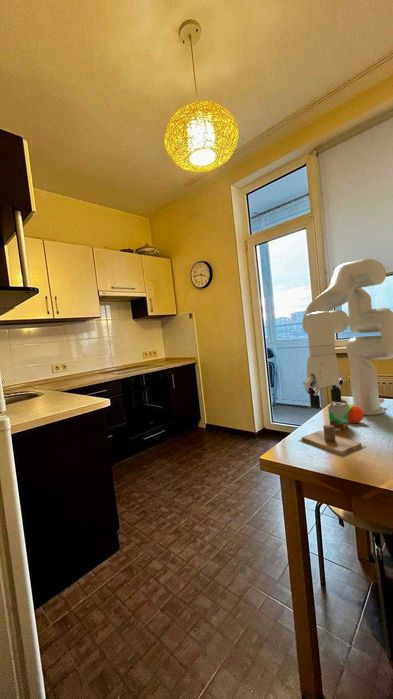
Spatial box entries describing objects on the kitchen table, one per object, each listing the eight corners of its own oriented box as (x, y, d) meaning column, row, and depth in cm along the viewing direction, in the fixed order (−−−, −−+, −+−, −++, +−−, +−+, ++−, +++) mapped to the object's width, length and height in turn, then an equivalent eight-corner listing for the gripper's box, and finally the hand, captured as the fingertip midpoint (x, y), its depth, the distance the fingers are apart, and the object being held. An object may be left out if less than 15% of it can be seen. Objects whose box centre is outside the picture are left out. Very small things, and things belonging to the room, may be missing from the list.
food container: (349, 436, 99) (347, 407, 99) (330, 434, 102) (328, 406, 102) (352, 424, 110) (350, 398, 109) (334, 422, 113) (332, 397, 112)
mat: (320, 434, 103) (320, 432, 103) (366, 449, 88) (366, 446, 88) (297, 442, 98) (297, 440, 98) (343, 460, 83) (342, 457, 83)
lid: (320, 433, 102) (319, 418, 101) (361, 446, 88) (359, 428, 88) (302, 440, 98) (300, 424, 97) (341, 455, 84) (340, 436, 84)
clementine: (359, 427, 105) (357, 408, 105) (339, 424, 110) (337, 406, 110) (366, 421, 110) (365, 403, 110) (347, 418, 116) (346, 401, 115)
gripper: (330, 348, 98) (334, 397, 99) (292, 354, 91) (297, 407, 91) (350, 348, 92) (354, 401, 92) (312, 354, 84) (316, 412, 85)
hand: (326, 404), depth 92 cm, fingers open, 9 cm apart
